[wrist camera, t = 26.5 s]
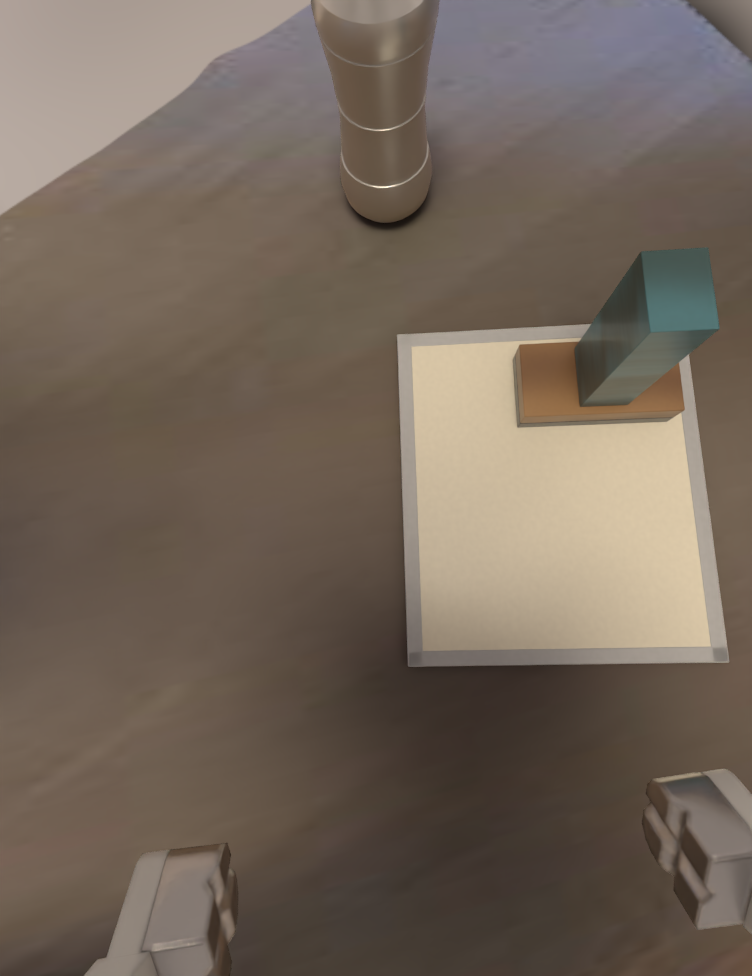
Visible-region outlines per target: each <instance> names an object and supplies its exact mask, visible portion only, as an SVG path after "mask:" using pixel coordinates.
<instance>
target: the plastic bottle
mask: <svg viewBox="0 0 752 976" xmlns="http://www.w3.org/2000/svg"><path fill="white" fill-rule="evenodd" d="M439 1H440V0H311V6H312V11H313V15H314V19H315V24H316V27H317V30H318V34H319V37H320V40H321V43H322V46H323V49H324V53H325V56H326V59H327V62H328V65H329V68H330V72H331V75H332V80H333V84H334V89H335V94H336V98H337V103H338V108H339V113H340V129H341V155H340V179H341V184H342V187H343V190H344V192H345V194H346V197H347V199H348V201H349V203H350V205H351V206H352V208H353V209H354V210H355V211H356V212H358V213H359V214H360V215H362V216H364V217H365V218H368V219H370V220H373V221H375V222H381V223H390V222H396V221H399V220H402V219H404V218H406V217H408V216H409V215H411V214H412V213H413V212H415V211H416V210H417V209H418V208H419V207H420V206H421V205H422V203H423V202H424V200H425V198H426V196H427V192H428V189H429V185H430V182H431V178H432V162H431V154H430V149H429V144H428V140H427V129H426V113H425V99H426V88H427V76H428V65H429V60H430V55H431V49H432V44H433V38H434V33H435V28H436V22H437V17H438V10H439Z"/></svg>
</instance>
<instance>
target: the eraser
mask: <svg viewBox="0 0 752 976" xmlns="http://www.w3.org/2000/svg"><path fill="white" fill-rule="evenodd" d="M717 330H719V321H718V314H717V307H716V300H715V293H714V286H713V278H712V271H711V264H710V257H709V250H708V248H691V249H674V250H658V251H642V252H640V254H639V255H638V257H637V258H636V260H635V261H634V263H633V264H632V265H631V267H630V268H629V270H628V271H627V273H626V274H625V276H624V277H623V279H622V280H621V281H620V283H619V284H618V286H617V287H616V289H615V290H614V292H613V293H612V295H611V296H610V298H609V299H608V300H607V302H606V303H605V305H604V306H603V308H602V309H601V311H600V312H599V314H598V315H597V316H596V318H595V319H594V321H593V322H592V324H591V325H590V327H589V328H588V330H587V331H586V332H585V334H584V335H583V337H582V338H581V340H580V341H579V342H559V343H539V344H520V345H519V347H518V349H517V351H516V354H515V356H514V358H513V372H514V387H515V402H516V416H517V427H518V428H521V427H546V426H571V425H596V424H621V423H646V422H667V421H669V420H670V419H672V418H674V417H675V416H676V415H678V414H680V413H681V412H683V411H684V410H685V406H684V398H683V390H682V382H681V374H680V366H679V362H680V361H681V360H682V359H684V358H685V357H686V356H687V355H688V354H690V353H691V352H692V351H693V350H694V349H696V348H697V347H698V346H699V345H700V344H702V343H703V342H704V341H705V340H707V339H708V338H709V337H710V336H711V335H713V334H714V333H715V332H716V331H717Z"/></svg>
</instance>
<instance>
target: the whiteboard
mask: <svg viewBox="0 0 752 976" xmlns="http://www.w3.org/2000/svg"><path fill="white" fill-rule="evenodd" d="M590 325H591V324H585V325H567V326H548V327H530V328H512V329H494V330H476V331H457V332H439V333H421V334H400V335H397V347H398V378H399V408H400V439H401V470H402V500H403V531H404V561H405V592H406V622H407V653H408V667H429V666H503V665H577V664H652V663H728V662H729V656H728V649H727V641H726V633H725V626H724V618H723V611H722V603H721V595H720V588H719V580H718V573H717V565H716V558H715V550H714V542H713V535H712V527H711V520H710V512H709V504H708V497H707V489H706V482H705V474H704V467H703V459H702V451H701V444H700V436H699V429H698V421H697V413H696V406H695V398H694V391H693V383H692V375H691V368H690V360H689V354H688V355H687V356H686V357H685V358H684V359H682V360H681V361H680V362H679V366H680V374H681V382H682V390H683V398H684V406H685V410H684V411H683V412H681V413H680V414H678V415H676V416H675V417H674V418H672V419H670V420H669V421H667V422H646V423H621V424H596V425H571V426H546V427H521V428H518V427H517V416H516V402H515V387H514V372H513V358H514V356H515V354H516V351H517V349H518V347H519V345H520V344H539V343H559V342H579V341H580V340H581V338H582V337H583V335H584V334H585V332H586V331H587V330H588V328H589V327H590Z"/></svg>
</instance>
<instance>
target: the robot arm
mask: <svg viewBox="0 0 752 976" xmlns="http://www.w3.org/2000/svg"><path fill="white" fill-rule="evenodd" d="M646 795H647V796H648V798H649V799H650V801H651V802H650V803H649V804H648V805H647V807H646V808H645V809H644V810H643V818H642V825H643V830H644V834H645V839H646V841H647V844H648V846H649V848H650V851H651V853H652V854H653V856H654V858H655V860H656V861H657V863H658V865H659V866H660V867H662V868H663V869H665V870H666V871H667V872H669V873H670V874H671V875H673V876H674V892H675V894H676V895H677V897H678V899H679V900H680V902H681V904H682V905H683V907H684V909H685V910H686V912H687V914H688V915H689V917H690V919H691V920H692V922H693V924H694V926H695V927H696V929H697V930H699V929H707V928H714V927H722V926H729V925H737V924H744V925H743V927H744V928H745V929H747V930H748V931H749V932H750V933H751V934H752V794H751V793H750V792H749V791H748V790H747V788H746V787H745V786H744V785H743V784H742V783H741V782H740V780H739V779H738V778H737V777H736V776H735V775H734V774H733V773H732V772H730V771H729V770H727V769H718V770H712V771H706V772H701V773H698V772H694V773H688V774H682V775H676V776H670V777H664V778H658V779H652V780H651V781H650V782H649V783H648V784H647V789H646ZM230 857H231V853H230V850H229V847H228V843H220V844H212V845H204V846H196V847H188V848H180V849H170V850H163V851H156V852H149V853H143V854H142V855H141V857H140V859H139V860H138V862H137V864H136V866H135V869H134V872H133V875H132V879H131V882H130V885H129V888H128V891H127V894H126V897H125V901H124V904H123V907H122V910H121V913H120V916H119V919H118V923H117V926H116V929H115V932H114V935H113V938H112V941H111V944H110V948H109V951H108V954H107V957H106V958H103V959H98V960H97V961H96V962H95V963H94V964H93V965H92V967H91V968H90V969H89V970H88V971H87V973H86V974H85V975H84V976H230V972H231V964H232V960H231V956H230V952H229V948H228V943H229V941H230V940H231V938H232V937H233V935H234V934H235V932H236V925H237V916H238V885H237V878H236V874H235V871H234V870H232V869H231V868H229V864H230Z"/></svg>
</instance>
